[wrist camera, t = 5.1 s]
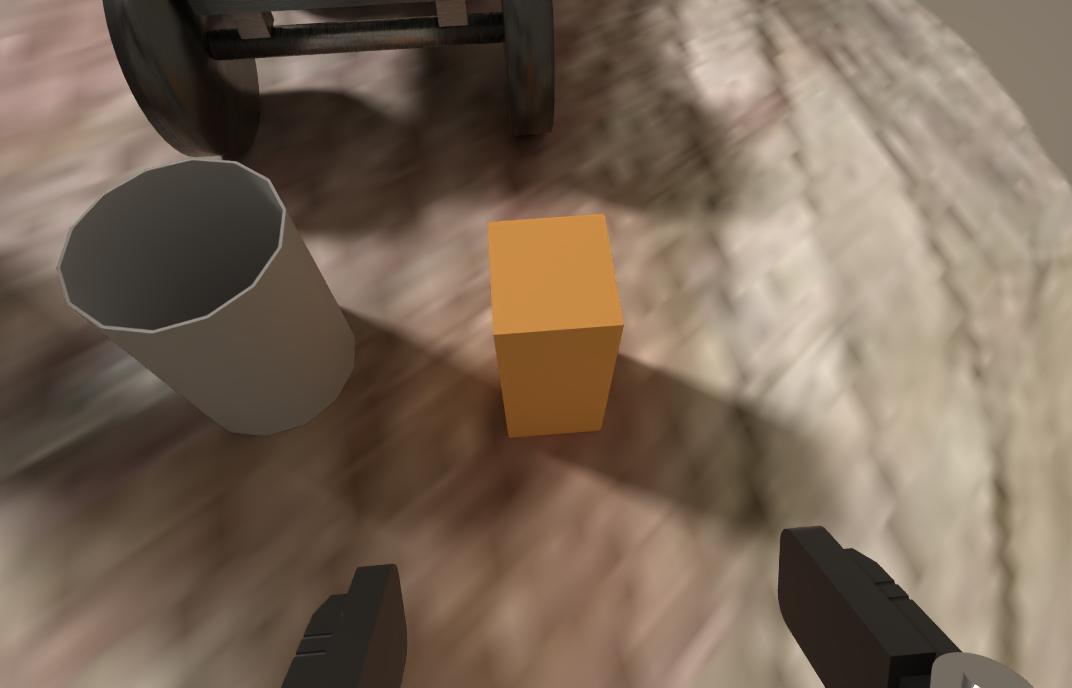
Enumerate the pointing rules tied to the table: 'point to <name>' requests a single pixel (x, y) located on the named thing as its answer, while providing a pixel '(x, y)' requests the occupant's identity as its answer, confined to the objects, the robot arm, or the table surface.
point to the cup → (211, 293)
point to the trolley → (247, 33)
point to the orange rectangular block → (554, 322)
